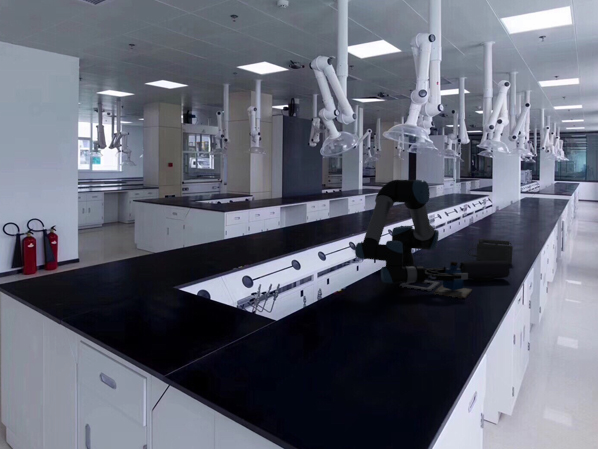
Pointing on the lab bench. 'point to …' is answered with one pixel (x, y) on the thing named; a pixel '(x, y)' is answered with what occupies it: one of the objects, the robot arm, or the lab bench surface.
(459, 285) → the perfume bottle
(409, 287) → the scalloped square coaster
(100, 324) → the lab bench surface
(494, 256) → the geiger counter
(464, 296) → the beige square cloth
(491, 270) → the bluetooth speaker
